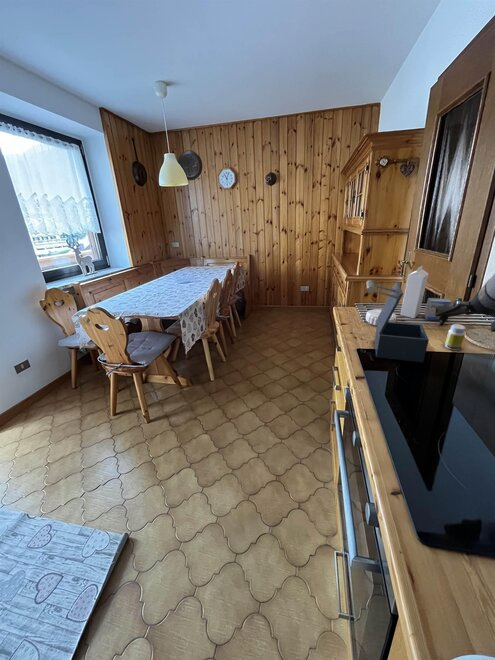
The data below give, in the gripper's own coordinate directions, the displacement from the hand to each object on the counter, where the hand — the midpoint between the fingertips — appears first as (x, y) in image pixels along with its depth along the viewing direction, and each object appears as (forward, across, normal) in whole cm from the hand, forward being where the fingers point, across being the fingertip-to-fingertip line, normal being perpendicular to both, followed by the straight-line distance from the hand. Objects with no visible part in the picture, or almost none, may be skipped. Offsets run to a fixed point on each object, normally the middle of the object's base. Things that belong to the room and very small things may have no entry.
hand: (465, 324), depth 90 cm
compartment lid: (-4, +23, -1) cm, 23 cm away
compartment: (+8, +18, +10) cm, 22 cm away
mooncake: (+26, +24, -7) cm, 36 cm away
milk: (+33, +12, -15) cm, 39 cm away
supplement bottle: (+15, 0, +4) cm, 15 cm away
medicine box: (+33, +2, -14) cm, 36 cm away
